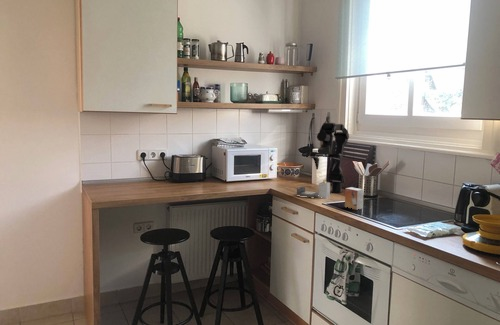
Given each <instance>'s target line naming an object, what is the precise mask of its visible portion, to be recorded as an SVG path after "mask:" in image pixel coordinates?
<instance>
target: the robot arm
mask: <svg viewBox="0 0 500 325" xmlns="http://www.w3.org/2000/svg"><path fill="white" fill-rule="evenodd" d="M316 138H317V140H318V141H319V142H321V145H320V147H318V148H317V151H310V152H309V155H308V156H309V157H311V159H313V161H314V164H315V168H316V170H318V169H319V164H320V158H332V162H331V167H330V168H329V173H328V182H330V183H331V190H330V193H333V192H334V193H335V194H336V193H337V194H341V193H342V192H344V191H343V190H342V184H344V183H345V177H344V174H343V173H344V172H343V170H342V163H343V155H344V149H345V146H346V145H347V144H348V141H349V138H350V134H349V130H348V129H346V127H345V126H344V124H342V123H336V122H323V124H321V127H320V129H319V132H318V133H317V134H316ZM333 139H334V141H335V143H336V147H335V148H336V149H335V152H333V153H332V149H333Z"/></svg>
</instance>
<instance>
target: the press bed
mask: <svg viewBox="0 0 500 325" xmlns="http://www.w3.org/2000/svg"><path fill="white" fill-rule="evenodd" d="M296 195H300V196H307V197H316V196H318V195H319V191H310V190H306V186H305V185H302V186H299V187H297V188H296ZM296 195H295V196H296ZM318 197H319V196H318ZM316 198H317V197H316Z"/></svg>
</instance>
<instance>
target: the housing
mask: <svg viewBox="0 0 500 325" xmlns="http://www.w3.org/2000/svg"><path fill="white" fill-rule="evenodd" d="M330 191H331V182H329V181H326V180H323V181H320V182H318V192H319V196H318V198H319V197H322V198H321V199H324V198H327V199H329V198H331V192H330ZM328 197H329V198H328Z"/></svg>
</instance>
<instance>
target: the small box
mask: <svg viewBox="0 0 500 325" xmlns="http://www.w3.org/2000/svg"><path fill="white" fill-rule="evenodd" d="M344 191H345V193H344V207H345V208H347V207H348V209H351V208H352V209H351V210H355V211H359V210H362V209H363V208H364V189H363V188H356V187H353V186H351V187H346V188H345V190H344ZM358 209H359V210H358Z"/></svg>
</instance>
